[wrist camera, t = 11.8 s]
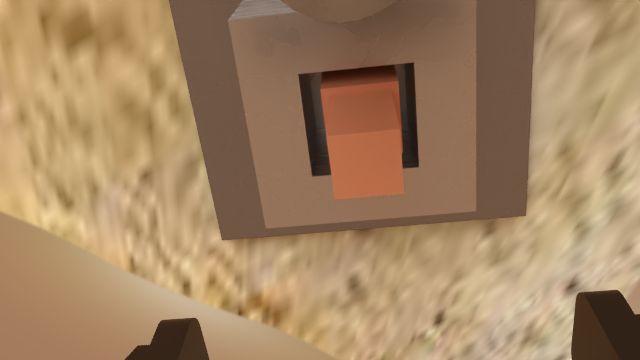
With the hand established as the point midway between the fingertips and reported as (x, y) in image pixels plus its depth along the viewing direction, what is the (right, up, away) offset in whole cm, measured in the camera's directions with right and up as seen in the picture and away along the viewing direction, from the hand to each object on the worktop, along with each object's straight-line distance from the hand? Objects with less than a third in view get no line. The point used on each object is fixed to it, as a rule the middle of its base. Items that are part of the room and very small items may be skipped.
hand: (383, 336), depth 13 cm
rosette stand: (0, +9, +16) cm, 18 cm away
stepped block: (+1, +8, +15) cm, 17 cm away
